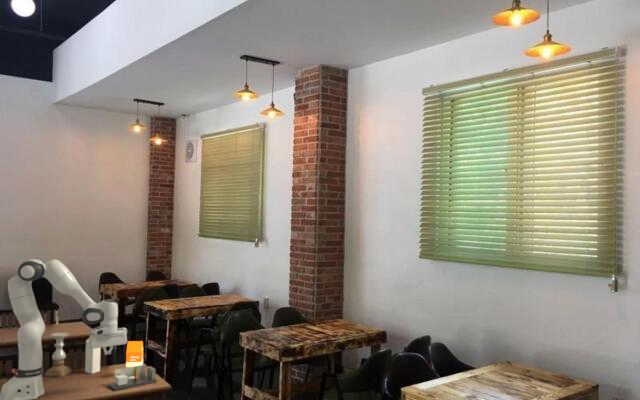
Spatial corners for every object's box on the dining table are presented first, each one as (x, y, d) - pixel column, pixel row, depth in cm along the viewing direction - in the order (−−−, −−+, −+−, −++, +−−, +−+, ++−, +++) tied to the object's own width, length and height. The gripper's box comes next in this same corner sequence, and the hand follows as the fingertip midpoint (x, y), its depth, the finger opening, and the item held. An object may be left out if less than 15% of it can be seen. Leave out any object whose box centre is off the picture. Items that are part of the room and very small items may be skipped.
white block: (118, 385, 297) (118, 378, 298) (113, 382, 302) (114, 375, 302) (135, 382, 304) (136, 375, 304) (131, 379, 309) (131, 372, 309)
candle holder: (61, 377, 315) (62, 336, 315) (44, 376, 316) (45, 335, 317) (72, 372, 326) (73, 332, 326) (55, 370, 327) (57, 331, 328)
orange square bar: (136, 379, 310) (136, 370, 310) (135, 378, 310) (135, 369, 311) (138, 378, 310) (138, 370, 310) (137, 378, 311) (137, 369, 311)
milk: (92, 369, 331) (93, 333, 332) (100, 371, 329) (101, 334, 330) (84, 372, 326) (86, 335, 327) (92, 373, 323) (93, 336, 324)
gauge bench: (114, 391, 294) (115, 375, 294) (107, 386, 302) (108, 370, 302) (156, 382, 310) (157, 367, 310) (148, 378, 318) (149, 363, 318)
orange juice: (127, 373, 326) (128, 339, 327) (142, 372, 328) (143, 339, 329) (125, 377, 319) (126, 343, 319) (141, 376, 320) (142, 342, 321)
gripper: (125, 326, 306) (124, 350, 306) (87, 330, 293) (86, 355, 292) (129, 328, 301) (128, 352, 301) (91, 332, 288) (90, 358, 287)
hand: (107, 354), depth 297 cm, fingers closed
